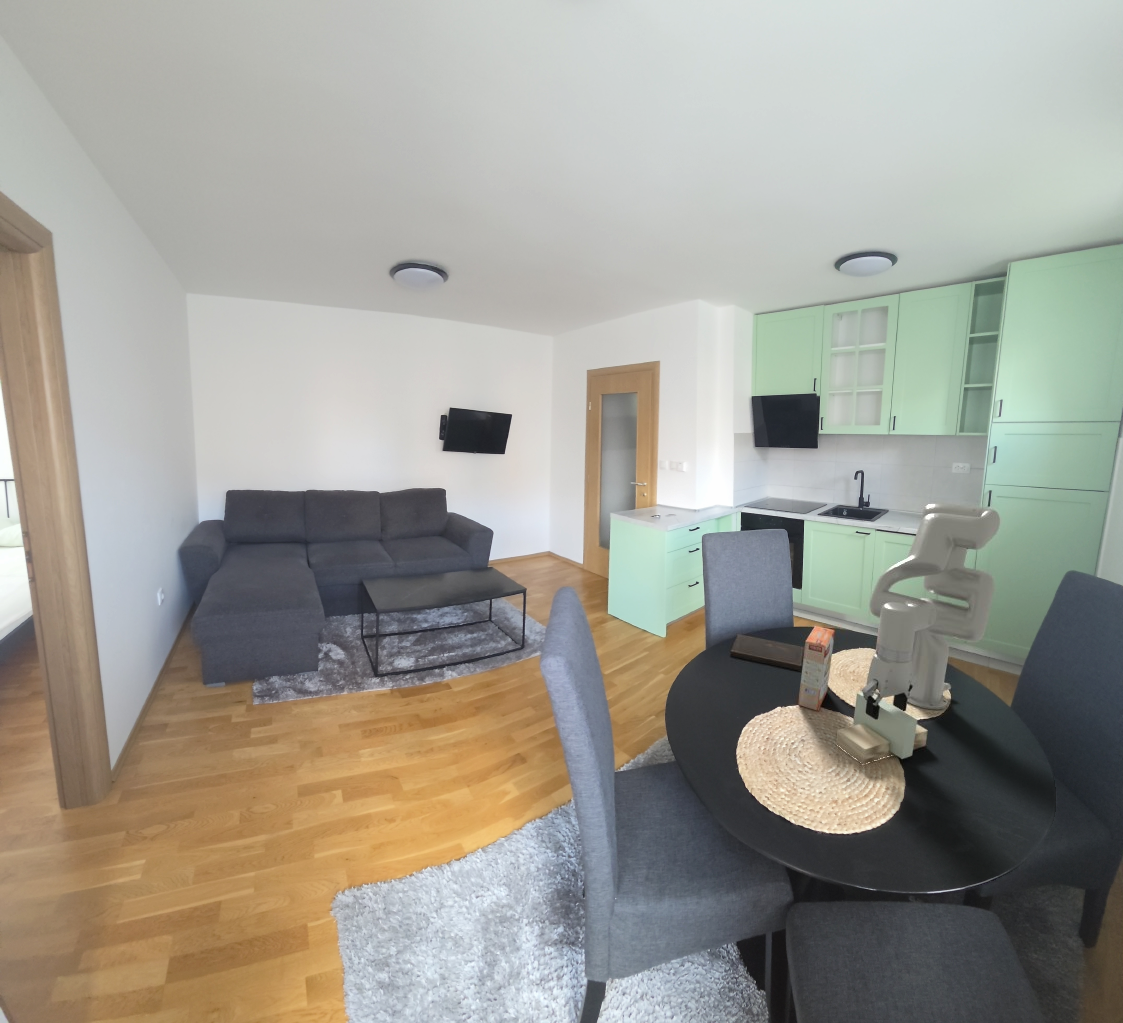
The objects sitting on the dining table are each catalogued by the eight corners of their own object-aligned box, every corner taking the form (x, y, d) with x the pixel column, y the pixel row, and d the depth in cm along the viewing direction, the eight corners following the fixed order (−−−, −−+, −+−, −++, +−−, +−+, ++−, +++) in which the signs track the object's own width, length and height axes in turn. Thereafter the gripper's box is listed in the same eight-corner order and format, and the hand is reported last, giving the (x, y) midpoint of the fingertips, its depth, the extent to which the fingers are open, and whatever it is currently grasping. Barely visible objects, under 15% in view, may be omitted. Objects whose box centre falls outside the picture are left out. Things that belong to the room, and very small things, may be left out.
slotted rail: (896, 727, 139) (898, 713, 138) (925, 745, 131) (927, 730, 131) (835, 745, 132) (837, 730, 131) (862, 765, 124) (864, 749, 123)
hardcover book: (737, 639, 194) (738, 634, 193) (803, 652, 183) (803, 647, 183) (730, 657, 180) (730, 651, 180) (800, 672, 169) (801, 666, 169)
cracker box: (819, 712, 146) (826, 646, 142) (797, 705, 150) (803, 640, 145) (828, 691, 157) (836, 629, 153) (808, 685, 160) (814, 624, 156)
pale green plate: (862, 723, 138) (866, 690, 136) (911, 755, 125) (917, 719, 124) (852, 726, 137) (856, 693, 135) (901, 758, 124) (907, 722, 122)
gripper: (903, 639, 133) (896, 697, 136) (854, 651, 127) (847, 711, 131) (932, 652, 126) (923, 713, 129) (882, 665, 120) (874, 728, 124)
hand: (885, 712), depth 130 cm, fingers open, 9 cm apart
